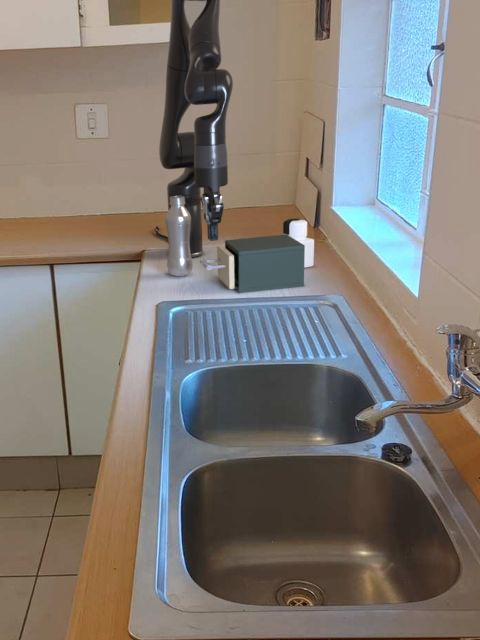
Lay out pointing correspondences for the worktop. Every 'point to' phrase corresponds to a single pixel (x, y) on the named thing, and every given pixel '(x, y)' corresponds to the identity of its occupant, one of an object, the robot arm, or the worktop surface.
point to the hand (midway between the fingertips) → (213, 239)
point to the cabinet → (268, 262)
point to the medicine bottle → (300, 238)
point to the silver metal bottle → (178, 237)
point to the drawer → (224, 265)
